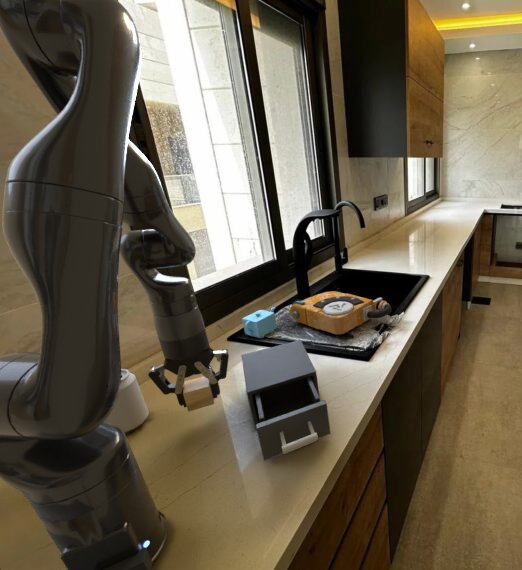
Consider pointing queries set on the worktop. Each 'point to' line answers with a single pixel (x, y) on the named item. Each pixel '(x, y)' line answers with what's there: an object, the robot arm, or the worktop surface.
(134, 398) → the can
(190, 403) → the block
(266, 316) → the teapot
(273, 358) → the gray drawer box
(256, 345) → the worktop surface
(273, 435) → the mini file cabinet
